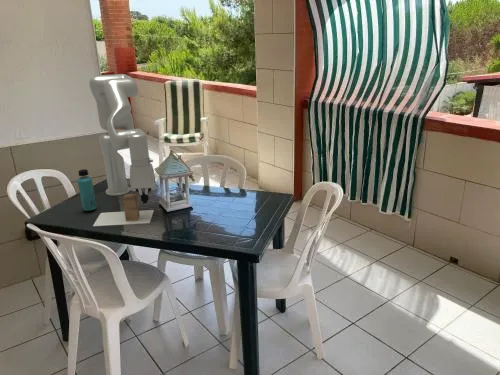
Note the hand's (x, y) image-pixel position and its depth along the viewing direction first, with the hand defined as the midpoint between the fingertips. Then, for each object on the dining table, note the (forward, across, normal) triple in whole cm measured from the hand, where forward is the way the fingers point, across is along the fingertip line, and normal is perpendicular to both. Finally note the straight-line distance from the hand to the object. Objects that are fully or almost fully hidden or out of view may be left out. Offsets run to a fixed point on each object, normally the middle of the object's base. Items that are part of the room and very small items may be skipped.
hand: (145, 202), depth 176 cm
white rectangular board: (+8, +10, -2) cm, 13 cm away
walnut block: (+8, +6, 0) cm, 10 cm away
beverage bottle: (+8, +28, -13) cm, 32 cm away
